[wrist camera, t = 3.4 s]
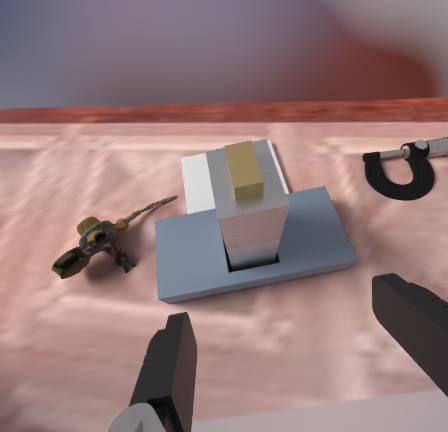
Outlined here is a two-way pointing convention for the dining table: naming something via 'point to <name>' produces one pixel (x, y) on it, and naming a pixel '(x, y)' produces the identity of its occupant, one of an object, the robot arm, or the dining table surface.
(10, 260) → the dining table surface
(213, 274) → the body
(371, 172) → the micrometer
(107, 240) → the regulator
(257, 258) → the grey yellow-tipped rectangular bar
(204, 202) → the mat
